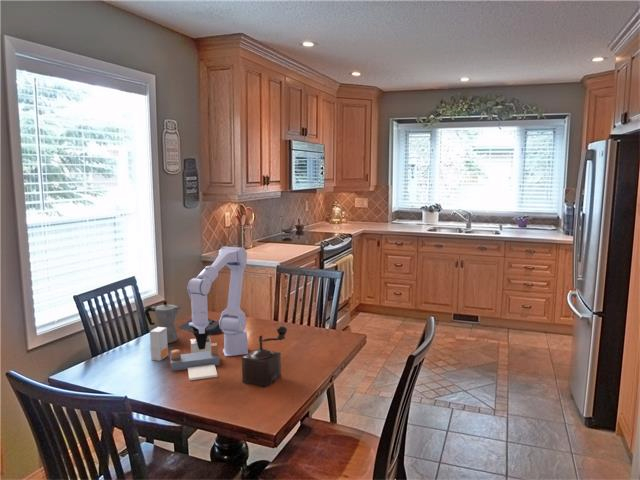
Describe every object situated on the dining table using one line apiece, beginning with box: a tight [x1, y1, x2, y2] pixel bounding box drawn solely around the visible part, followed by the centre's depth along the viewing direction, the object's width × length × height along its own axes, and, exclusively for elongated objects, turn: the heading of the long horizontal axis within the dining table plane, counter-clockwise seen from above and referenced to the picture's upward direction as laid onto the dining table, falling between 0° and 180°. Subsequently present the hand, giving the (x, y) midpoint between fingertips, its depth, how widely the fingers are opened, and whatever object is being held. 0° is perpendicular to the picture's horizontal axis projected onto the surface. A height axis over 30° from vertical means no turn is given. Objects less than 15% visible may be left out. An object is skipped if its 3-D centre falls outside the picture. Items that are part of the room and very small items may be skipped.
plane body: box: [169, 342, 221, 372], centre depth 189 cm, size 18×8×7 cm, turn 108°
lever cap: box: [189, 335, 212, 353], centre depth 179 cm, size 7×5×4 cm
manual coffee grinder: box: [241, 325, 288, 388], centre depth 176 cm, size 16×11×18 cm
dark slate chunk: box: [178, 318, 223, 337], centre depth 232 cm, size 15×22×5 cm
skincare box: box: [149, 326, 169, 362], centre depth 195 cm, size 6×4×12 cm
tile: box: [187, 364, 218, 381], centre depth 181 cm, size 10×10×1 cm
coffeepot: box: [143, 300, 182, 344], centre depth 215 cm, size 15×9×18 cm, turn 103°
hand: (201, 346), depth 179 cm, fingers closed on lever cap, 5 cm apart
